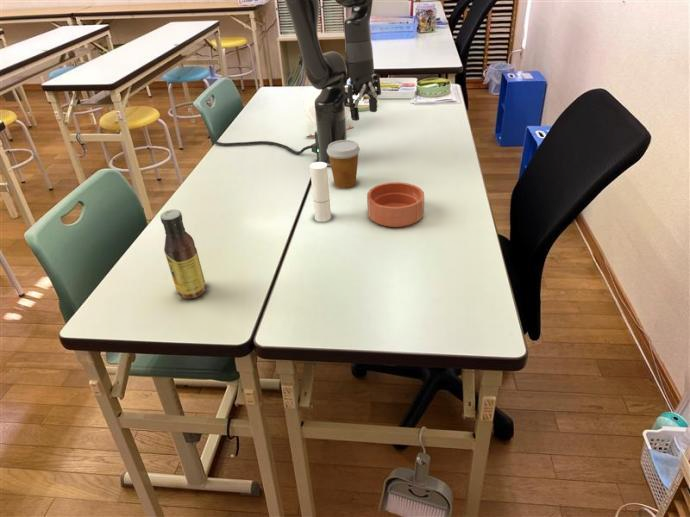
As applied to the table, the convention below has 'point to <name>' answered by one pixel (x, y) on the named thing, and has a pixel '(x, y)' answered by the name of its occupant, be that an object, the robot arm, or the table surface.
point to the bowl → (395, 204)
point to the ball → (310, 106)
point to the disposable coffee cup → (344, 162)
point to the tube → (320, 191)
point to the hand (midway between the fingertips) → (364, 115)
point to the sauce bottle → (182, 256)
